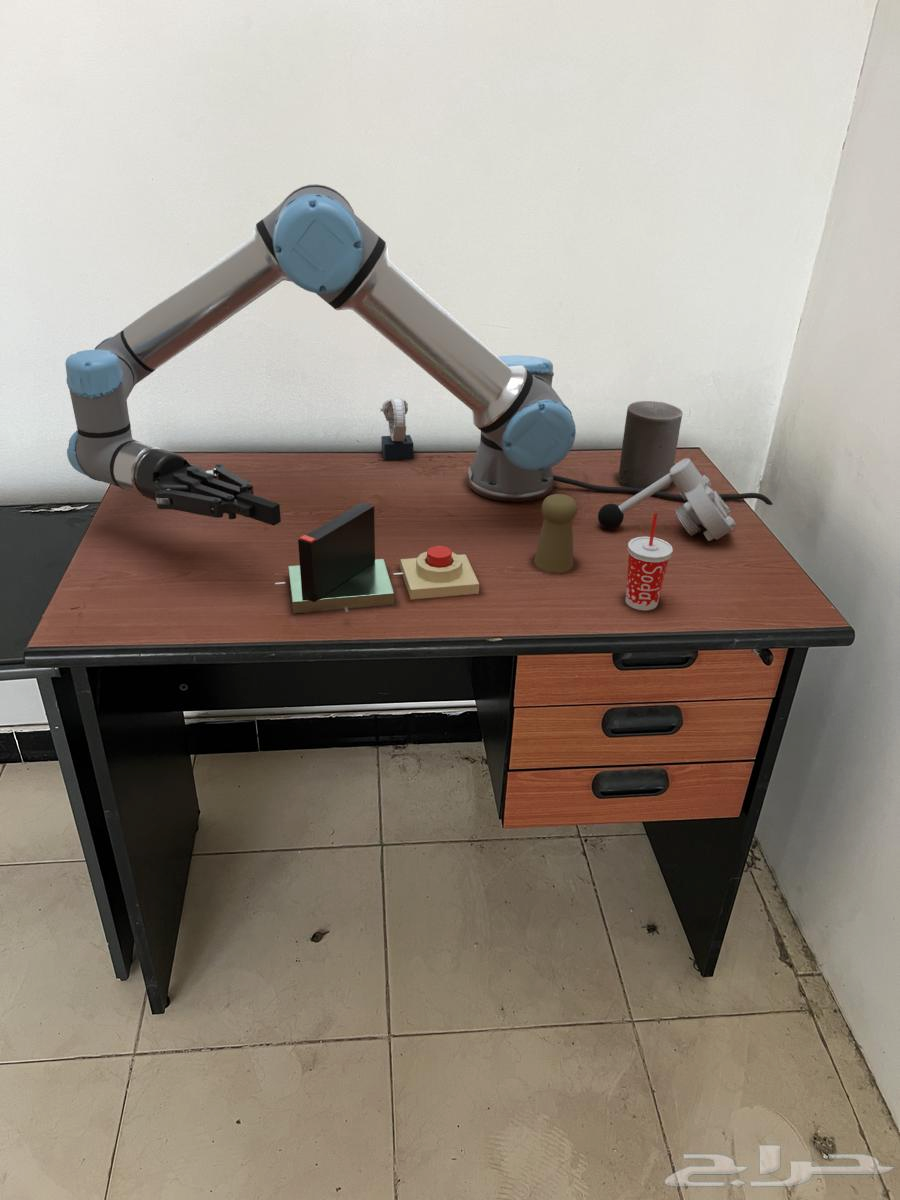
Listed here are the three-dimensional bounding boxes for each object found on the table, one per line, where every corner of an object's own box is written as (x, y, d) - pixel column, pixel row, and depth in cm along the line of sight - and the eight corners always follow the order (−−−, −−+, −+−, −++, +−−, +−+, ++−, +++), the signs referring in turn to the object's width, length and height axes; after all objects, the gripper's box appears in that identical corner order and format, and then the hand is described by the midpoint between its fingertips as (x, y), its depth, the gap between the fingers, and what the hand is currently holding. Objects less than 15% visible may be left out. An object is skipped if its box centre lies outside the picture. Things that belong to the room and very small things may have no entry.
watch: (408, 446, 176) (408, 391, 170) (414, 462, 169) (415, 406, 163) (379, 447, 175) (378, 393, 169) (385, 463, 168) (384, 407, 162)
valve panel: (393, 556, 138) (393, 543, 136) (413, 619, 123) (414, 606, 121) (273, 565, 134) (272, 552, 133) (279, 631, 119) (278, 618, 118)
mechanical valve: (743, 535, 140) (691, 461, 136) (645, 594, 147) (593, 525, 142) (733, 512, 149) (684, 441, 145) (641, 568, 156) (592, 502, 152)
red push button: (448, 555, 132) (449, 544, 131) (453, 567, 129) (454, 556, 128) (424, 557, 131) (424, 546, 130) (429, 569, 128) (429, 558, 127)
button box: (465, 563, 136) (466, 543, 134) (478, 593, 129) (480, 572, 127) (400, 568, 134) (400, 548, 132) (410, 599, 127) (410, 578, 125)
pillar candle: (613, 487, 162) (623, 407, 154) (623, 467, 170) (633, 390, 162) (667, 496, 159) (680, 415, 151) (674, 475, 167) (688, 397, 159)
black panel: (363, 557, 133) (361, 500, 128) (375, 561, 132) (374, 504, 127) (301, 597, 123) (297, 537, 118) (314, 602, 122) (310, 542, 117)
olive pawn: (547, 576, 134) (554, 509, 128) (526, 558, 138) (532, 493, 132) (581, 567, 136) (589, 502, 130) (559, 550, 141) (566, 486, 135)
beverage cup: (616, 608, 126) (628, 519, 119) (624, 587, 131) (636, 500, 124) (659, 617, 125) (675, 527, 117) (666, 596, 130) (681, 508, 122)
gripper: (190, 482, 138) (309, 522, 128) (123, 512, 129) (245, 558, 118) (184, 436, 134) (306, 473, 124) (114, 463, 125) (240, 506, 114)
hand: (276, 514), depth 121 cm, fingers closed
